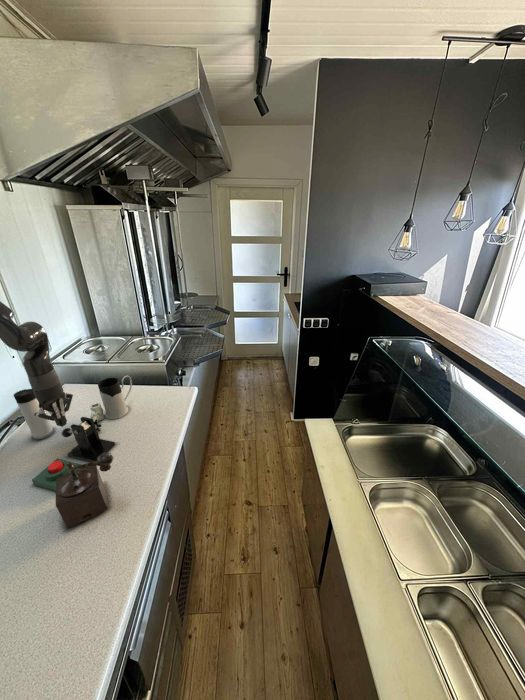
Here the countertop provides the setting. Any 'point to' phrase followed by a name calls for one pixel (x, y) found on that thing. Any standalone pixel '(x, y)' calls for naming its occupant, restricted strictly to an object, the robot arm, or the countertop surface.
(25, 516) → the countertop surface
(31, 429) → the travel mug
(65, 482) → the brown coffee grinder
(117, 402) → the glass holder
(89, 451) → the bracket
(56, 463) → the button
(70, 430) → the lever
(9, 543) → the countertop surface
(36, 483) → the button block
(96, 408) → the valve
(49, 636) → the countertop surface
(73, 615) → the countertop surface
